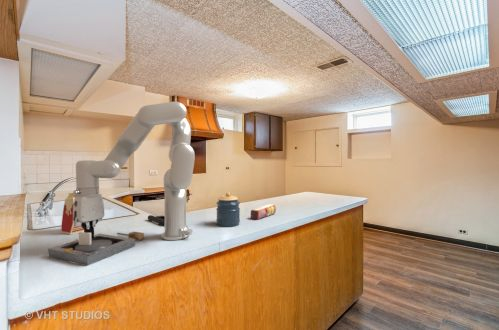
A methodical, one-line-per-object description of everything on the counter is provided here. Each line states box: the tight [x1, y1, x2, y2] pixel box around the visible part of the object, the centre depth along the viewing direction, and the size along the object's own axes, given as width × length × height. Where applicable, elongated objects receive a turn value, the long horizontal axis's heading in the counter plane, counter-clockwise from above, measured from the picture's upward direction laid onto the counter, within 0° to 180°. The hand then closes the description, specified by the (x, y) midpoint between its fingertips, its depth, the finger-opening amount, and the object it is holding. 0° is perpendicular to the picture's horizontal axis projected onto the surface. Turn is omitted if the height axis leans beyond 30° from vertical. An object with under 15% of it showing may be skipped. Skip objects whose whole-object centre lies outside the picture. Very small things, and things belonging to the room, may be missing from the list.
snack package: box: [250, 203, 277, 221], centre depth 156 cm, size 21×7×7 cm, turn 145°
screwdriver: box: [116, 231, 145, 241], centre depth 112 cm, size 14×3×3 cm, turn 70°
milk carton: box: [60, 192, 84, 236], centre depth 122 cm, size 9×9×20 cm
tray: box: [47, 233, 136, 266], centre depth 95 cm, size 20×20×4 cm
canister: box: [215, 191, 241, 228], centre depth 137 cm, size 13×13×18 cm
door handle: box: [147, 214, 165, 227], centre depth 143 cm, size 3×20×16 cm
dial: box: [75, 232, 112, 253], centre depth 95 cm, size 12×12×6 cm
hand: (89, 237), depth 98 cm, fingers closed
